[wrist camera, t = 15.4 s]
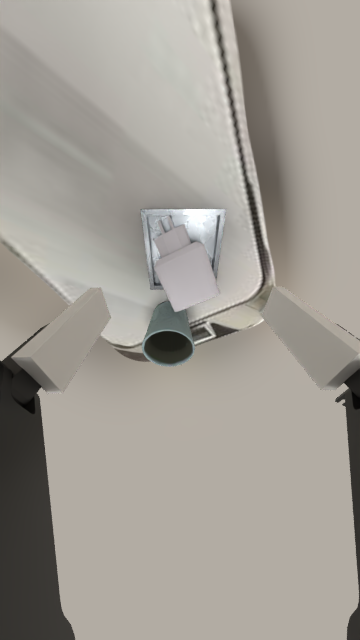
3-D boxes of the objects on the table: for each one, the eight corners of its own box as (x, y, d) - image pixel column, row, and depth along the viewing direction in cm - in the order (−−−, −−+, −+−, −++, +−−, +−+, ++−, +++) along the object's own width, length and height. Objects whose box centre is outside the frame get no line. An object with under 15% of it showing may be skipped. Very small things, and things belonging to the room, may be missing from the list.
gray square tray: (143, 209, 26) (140, 209, 23) (222, 209, 26) (226, 209, 24) (152, 284, 33) (150, 289, 31) (212, 284, 33) (214, 289, 31)
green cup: (150, 297, 35) (138, 329, 25) (192, 298, 35) (197, 330, 26) (152, 330, 41) (144, 366, 31) (189, 331, 41) (192, 367, 32)
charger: (188, 209, 26) (216, 289, 31) (142, 233, 27) (175, 305, 33) (189, 199, 21) (221, 294, 26) (134, 229, 23) (174, 313, 28)
